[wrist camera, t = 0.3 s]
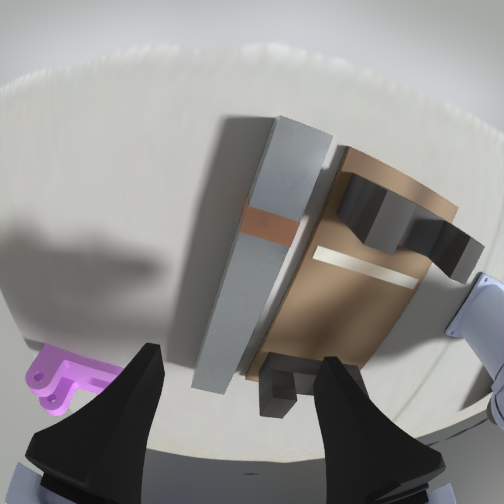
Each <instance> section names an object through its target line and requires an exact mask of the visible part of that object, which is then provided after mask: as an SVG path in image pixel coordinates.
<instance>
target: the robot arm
mask: <svg viewBox="0 0 504 504" xmlns="http://www.w3.org/2000/svg"><path fill="white" fill-rule="evenodd" d="M445 334H446V335H447V336H452V337H458V338H464V339H465V340H466V341H467V343H468V344H469V345H470V347H471V348H472V350H473V351H474V352H475V354H476V355H477V357H478V358H479V359H480V361H481V362H482V364H483V365H484V367H485V368H486V370H487V371H488V373H489V374H490V376H491V377H492V379H493V380H494V383H493V385H492V386H491V389H492V390H493V392H494V394H493V395H492V398H491V410H492V414H493V417H494V419H495V421H496V423H497V424H498V426H499V427H500V428H501V429H502V430H503V431H504V284H503V283H501V282H499V281H497V280H496V279H494V278H492V277H490V276H488V275H487V274H485V273H483V274H481V276H480V277H479V279H478V281H477V283H476V284H475V286H474V288H473V290H472V291H471V293H470V295H469V296H468V298H467V300H466V301H465V303H464V304H463V306H462V307H461V309H460V311H459V312H458V314H457V315H456V317H455V318H454V320H453V321H452V322H451V324H450V325H449V327H448V328H447V330H446V331H445ZM164 376H165V371H164V366H163V360H162V355H161V348H160V345H158V344H152V343H146V344H145V345H144V346H143V347H142V348H141V350H140V351H139V352H138V353H137V355H136V356H135V357H134V358H133V359H132V361H131V362H130V363H129V364H128V365H127V366H126V367H125V368H124V370H123V371H122V372H121V373H120V374H119V375H118V376H117V377H116V378H115V379H114V380H113V381H112V382H111V383H110V384H109V385H108V386H107V387H106V388H105V389H104V390H103V391H102V392H101V393H100V394H99V395H97V396H96V397H95V398H94V399H93V400H91V401H90V402H89V403H88V404H86V405H85V406H83V407H82V408H81V409H79V410H78V411H76V412H75V413H73V414H72V415H70V416H69V417H67V418H65V419H63V420H62V421H60V422H58V423H57V424H54V425H52V426H50V427H48V428H46V429H44V430H41V431H39V432H37V433H35V434H34V435H33V437H32V439H31V441H30V444H29V446H28V449H27V451H26V454H25V456H26V458H27V459H28V460H29V461H30V462H31V463H32V464H34V465H35V466H36V467H38V468H39V469H41V470H42V471H43V472H44V474H43V477H42V476H41V475H39V474H38V473H36V472H34V471H33V470H31V469H29V468H27V467H26V466H24V465H23V464H21V463H20V462H18V463H17V465H16V468H15V471H14V474H13V477H12V479H11V482H10V485H9V488H8V492H7V495H6V498H5V501H6V502H7V503H8V504H141V485H142V475H143V466H144V458H145V451H146V445H147V440H148V436H149V432H150V428H151V425H152V422H153V418H154V415H155V412H156V409H157V406H158V402H159V399H160V396H161V392H162V387H163V382H164ZM313 390H314V401H315V407H316V412H317V416H318V421H319V425H320V429H321V434H322V438H323V443H324V449H325V461H326V478H327V502H326V504H457V503H456V500H455V497H454V493H453V491H452V487H451V484H450V483H448V484H446V485H444V486H442V487H440V488H437V489H435V490H433V491H431V492H429V493H426V489H428V487H429V486H428V481H430V480H432V479H433V478H435V477H436V476H437V475H439V474H440V473H442V472H443V471H444V470H445V469H446V466H445V463H444V460H443V458H442V455H441V453H440V452H438V451H436V450H434V449H432V448H430V447H428V446H426V445H424V444H422V443H420V442H419V441H417V440H416V439H414V438H413V437H411V436H410V435H408V434H407V433H406V432H404V431H403V430H402V429H400V428H399V427H398V426H397V425H395V424H394V423H393V422H392V421H391V420H390V419H389V418H387V417H386V416H385V415H384V414H383V413H382V412H381V411H380V410H379V409H378V408H377V407H376V406H375V404H374V403H373V402H372V401H371V400H370V399H369V398H368V397H367V395H366V394H365V393H364V392H363V390H362V389H361V388H360V387H359V385H358V384H357V383H356V382H355V380H354V379H353V378H352V376H351V375H350V373H349V372H348V371H347V369H346V368H345V367H344V365H343V364H342V362H341V361H340V360H339V358H338V357H337V356H331V357H324V359H323V361H322V364H321V366H320V369H319V371H318V373H317V376H316V378H315V380H314V383H313Z"/></svg>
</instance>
